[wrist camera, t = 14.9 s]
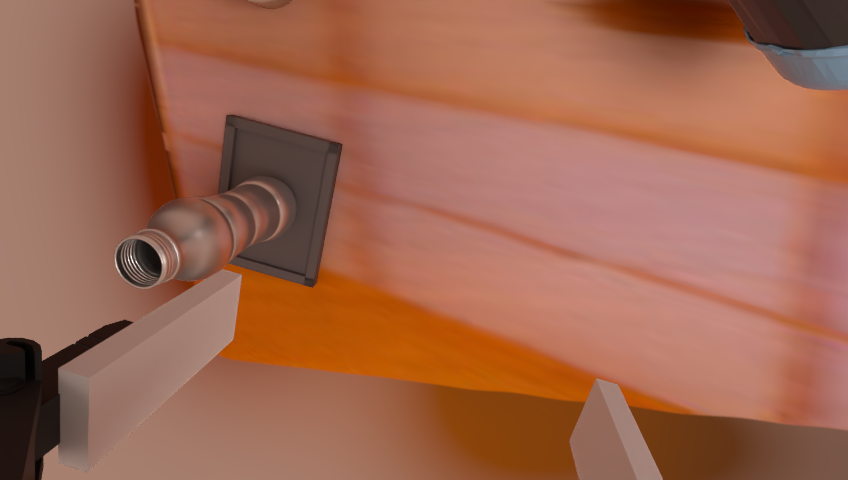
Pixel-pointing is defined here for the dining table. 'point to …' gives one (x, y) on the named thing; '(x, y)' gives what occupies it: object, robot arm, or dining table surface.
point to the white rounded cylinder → (271, 3)
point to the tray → (305, 176)
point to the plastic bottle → (205, 233)
